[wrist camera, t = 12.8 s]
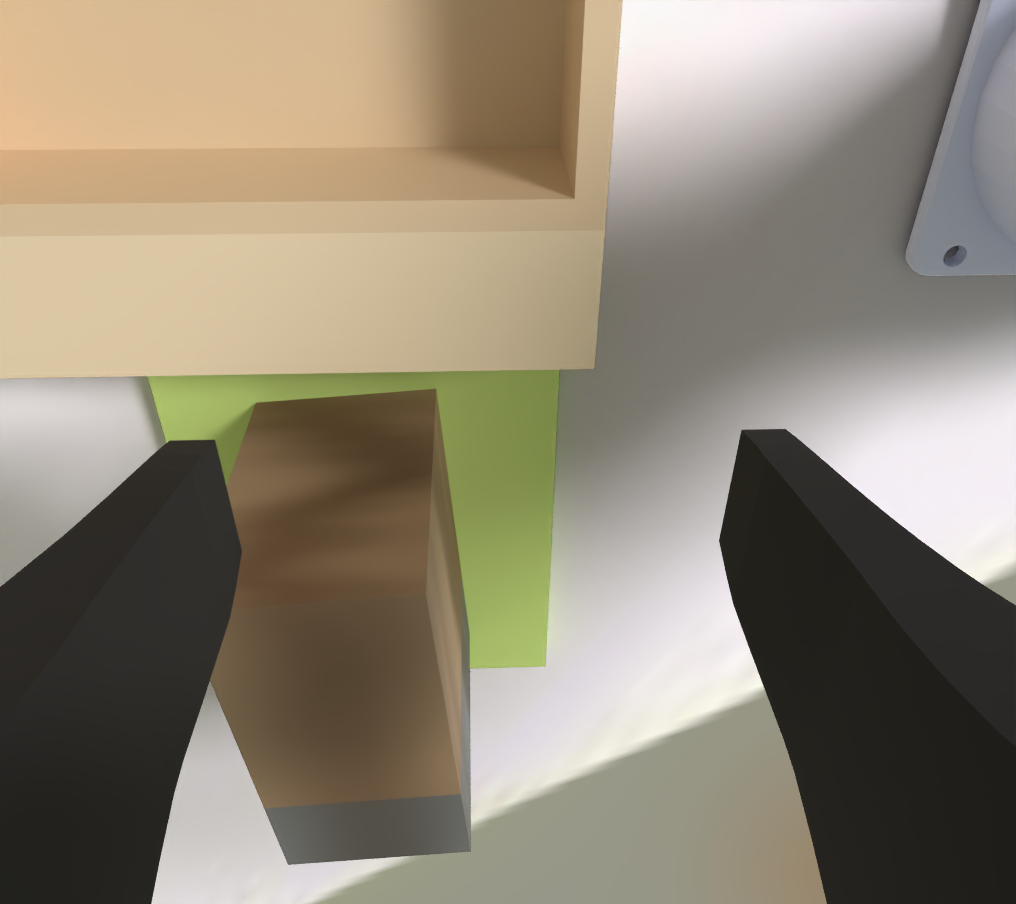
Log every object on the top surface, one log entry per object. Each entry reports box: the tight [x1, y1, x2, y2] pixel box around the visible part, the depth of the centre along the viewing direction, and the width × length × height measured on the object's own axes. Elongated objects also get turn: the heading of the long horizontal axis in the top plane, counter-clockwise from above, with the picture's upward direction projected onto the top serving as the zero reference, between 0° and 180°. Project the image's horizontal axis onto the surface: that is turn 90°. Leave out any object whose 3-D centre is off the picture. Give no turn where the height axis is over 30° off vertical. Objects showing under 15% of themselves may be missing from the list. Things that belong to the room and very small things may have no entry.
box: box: [210, 389, 471, 865], centre depth 21 cm, size 4×9×7 cm, turn 4°
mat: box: [147, 370, 560, 668], centre depth 24 cm, size 10×12×1 cm
